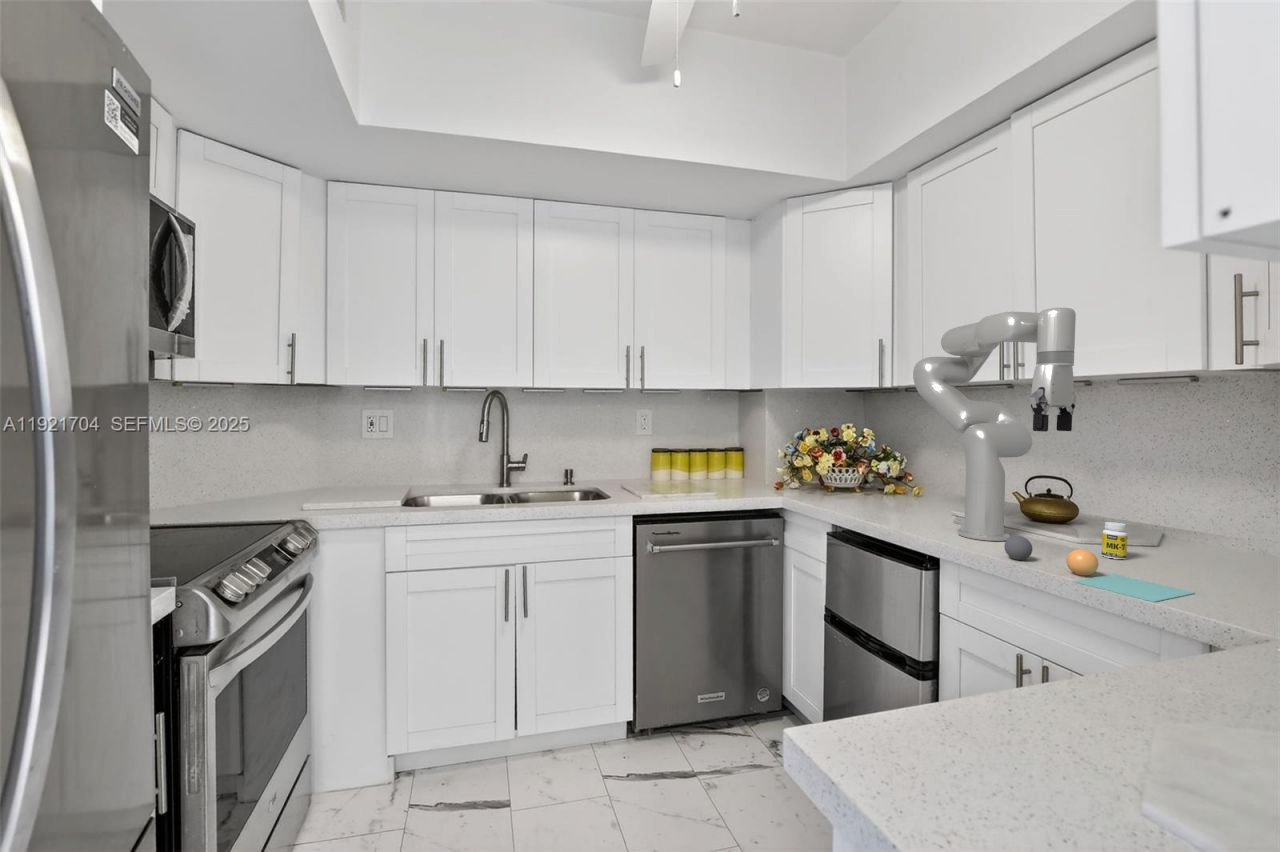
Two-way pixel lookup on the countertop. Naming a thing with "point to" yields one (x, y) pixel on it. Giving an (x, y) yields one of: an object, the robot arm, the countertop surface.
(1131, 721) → the countertop surface
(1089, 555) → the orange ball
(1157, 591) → the teal mark
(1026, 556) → the grey egg-shaped ball
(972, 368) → the robot arm
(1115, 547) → the supplement bottle
